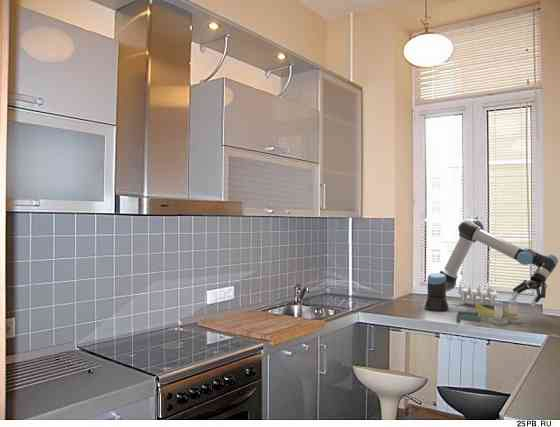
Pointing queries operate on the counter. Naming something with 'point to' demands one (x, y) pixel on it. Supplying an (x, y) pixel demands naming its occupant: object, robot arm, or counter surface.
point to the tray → (467, 316)
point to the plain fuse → (498, 311)
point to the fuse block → (505, 321)
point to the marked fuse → (512, 310)
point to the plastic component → (487, 311)
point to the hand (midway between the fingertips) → (521, 303)
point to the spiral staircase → (476, 293)
